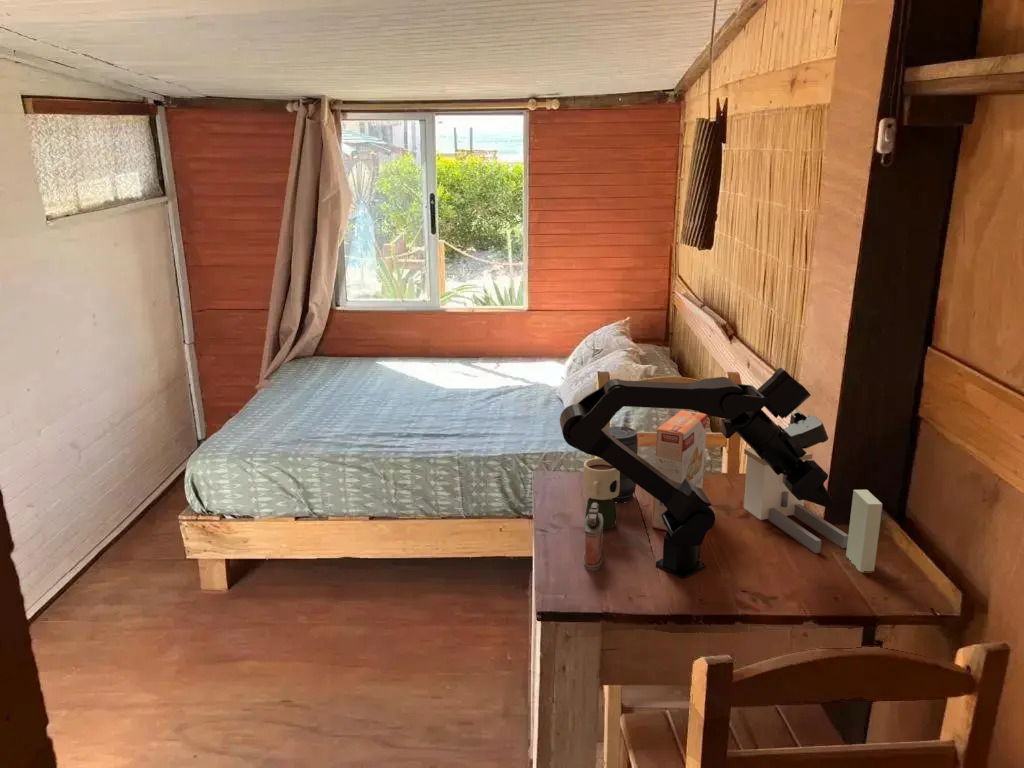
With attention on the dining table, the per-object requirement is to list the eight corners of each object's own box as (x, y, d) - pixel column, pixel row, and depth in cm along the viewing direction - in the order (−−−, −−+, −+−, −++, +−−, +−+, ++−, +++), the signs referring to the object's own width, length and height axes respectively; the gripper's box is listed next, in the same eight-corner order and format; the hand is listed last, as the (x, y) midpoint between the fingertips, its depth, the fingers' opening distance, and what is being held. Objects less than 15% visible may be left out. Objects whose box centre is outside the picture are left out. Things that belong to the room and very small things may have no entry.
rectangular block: (860, 572, 136) (868, 504, 132) (845, 555, 141) (853, 489, 138) (873, 572, 136) (882, 504, 132) (859, 555, 141) (866, 489, 138)
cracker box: (679, 535, 150) (684, 433, 144) (650, 528, 153) (654, 428, 147) (703, 508, 161) (708, 412, 156) (675, 502, 164) (680, 408, 159)
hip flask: (600, 571, 137) (601, 519, 135) (581, 569, 138) (582, 518, 135) (603, 549, 145) (604, 500, 142) (585, 548, 146) (586, 499, 143)
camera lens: (614, 486, 173) (615, 422, 169) (643, 497, 167) (645, 431, 163) (590, 497, 167) (591, 431, 163) (619, 508, 162) (621, 441, 158)
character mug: (612, 539, 149) (614, 476, 145) (576, 534, 151) (577, 472, 147) (623, 515, 159) (625, 456, 155) (589, 510, 161) (590, 452, 157)
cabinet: (806, 555, 142) (812, 489, 138) (740, 507, 161) (744, 448, 158) (856, 546, 145) (864, 481, 141) (785, 500, 164) (790, 442, 161)
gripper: (821, 421, 121) (883, 486, 124) (781, 387, 139) (835, 445, 142) (767, 468, 123) (828, 530, 126) (734, 429, 141) (789, 485, 144)
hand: (821, 494), depth 135 cm, fingers open, 9 cm apart
